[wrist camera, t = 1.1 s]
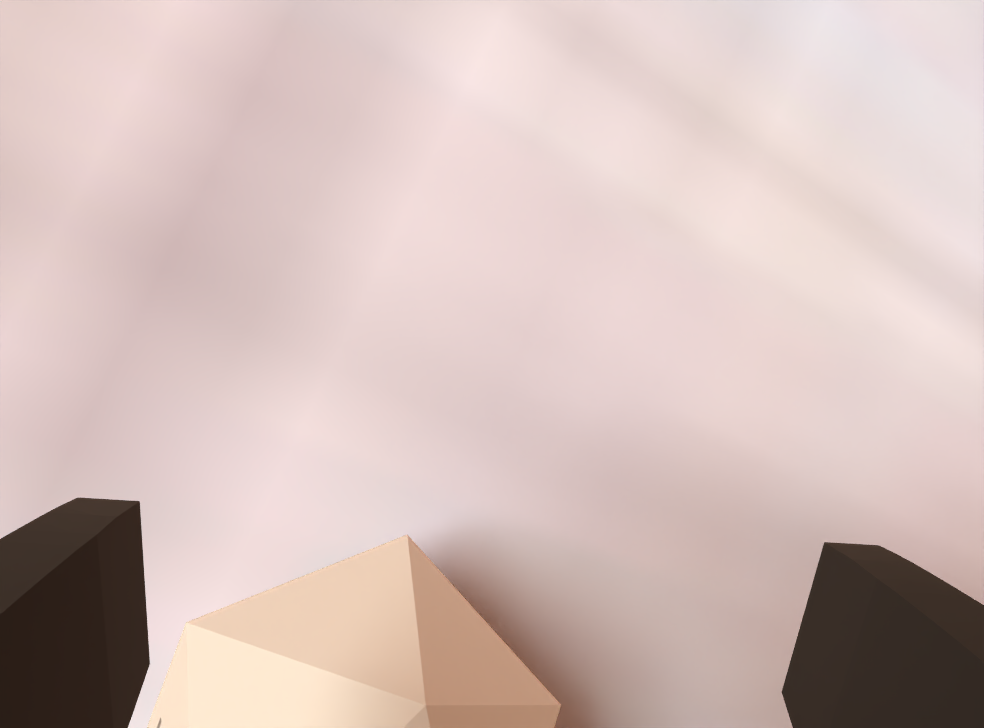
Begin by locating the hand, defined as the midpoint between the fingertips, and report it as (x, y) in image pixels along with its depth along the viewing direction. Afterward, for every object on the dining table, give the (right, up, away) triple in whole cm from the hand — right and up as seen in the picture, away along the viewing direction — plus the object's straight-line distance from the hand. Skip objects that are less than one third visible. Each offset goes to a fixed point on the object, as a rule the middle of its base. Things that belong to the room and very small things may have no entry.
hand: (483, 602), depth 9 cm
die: (-4, -6, +13) cm, 15 cm away
